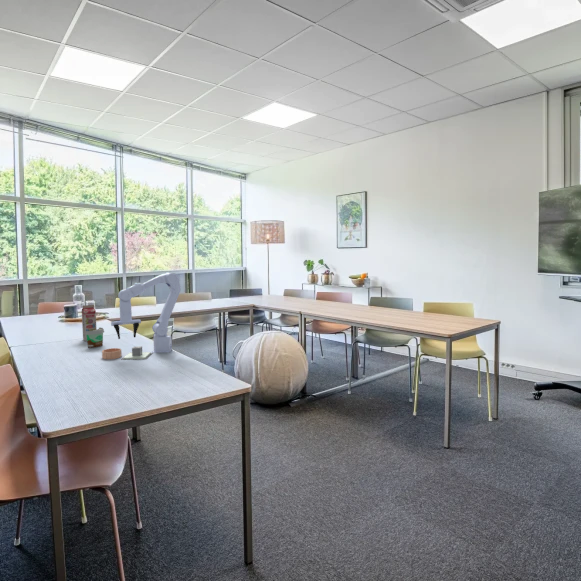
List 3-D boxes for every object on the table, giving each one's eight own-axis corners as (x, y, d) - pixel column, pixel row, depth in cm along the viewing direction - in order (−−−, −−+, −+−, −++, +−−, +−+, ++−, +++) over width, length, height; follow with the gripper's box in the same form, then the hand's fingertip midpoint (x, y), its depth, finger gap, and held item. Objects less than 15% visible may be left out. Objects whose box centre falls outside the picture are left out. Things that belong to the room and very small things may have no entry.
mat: (153, 354, 223) (153, 353, 223) (146, 360, 210) (146, 359, 210) (128, 354, 222) (128, 353, 222) (120, 360, 209) (120, 359, 209)
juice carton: (83, 339, 260) (81, 305, 258) (94, 338, 264) (92, 304, 262) (85, 341, 254) (83, 306, 252) (97, 340, 258) (95, 305, 256)
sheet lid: (151, 353, 222) (150, 344, 221) (145, 358, 211) (144, 349, 210) (130, 353, 221) (129, 345, 221) (123, 359, 210) (122, 350, 210)
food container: (95, 348, 235) (95, 331, 234) (86, 348, 236) (85, 331, 236) (109, 344, 247) (108, 327, 246) (100, 343, 249) (99, 327, 248)
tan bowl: (123, 355, 220) (123, 348, 220) (117, 359, 211) (117, 352, 211) (106, 355, 219) (106, 348, 219) (99, 360, 210) (99, 352, 210)
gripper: (139, 310, 224) (140, 335, 226) (110, 312, 218) (111, 337, 219) (141, 312, 218) (142, 337, 220) (111, 314, 211) (112, 340, 213)
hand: (126, 337), depth 219 cm, fingers open, 7 cm apart
